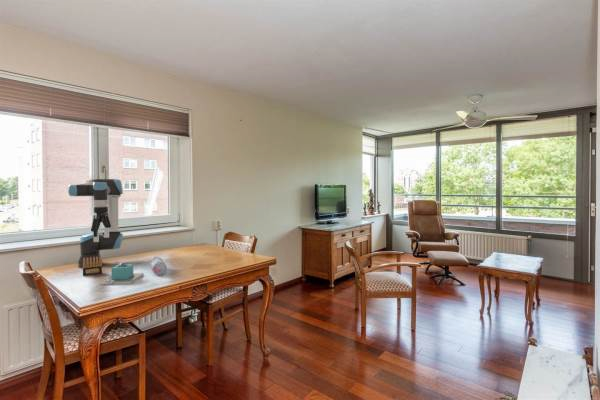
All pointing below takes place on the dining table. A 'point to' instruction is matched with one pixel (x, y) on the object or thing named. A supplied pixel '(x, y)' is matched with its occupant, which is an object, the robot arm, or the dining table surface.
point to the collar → (122, 271)
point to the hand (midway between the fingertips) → (101, 239)
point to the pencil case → (158, 266)
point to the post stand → (122, 281)
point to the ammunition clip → (94, 270)
